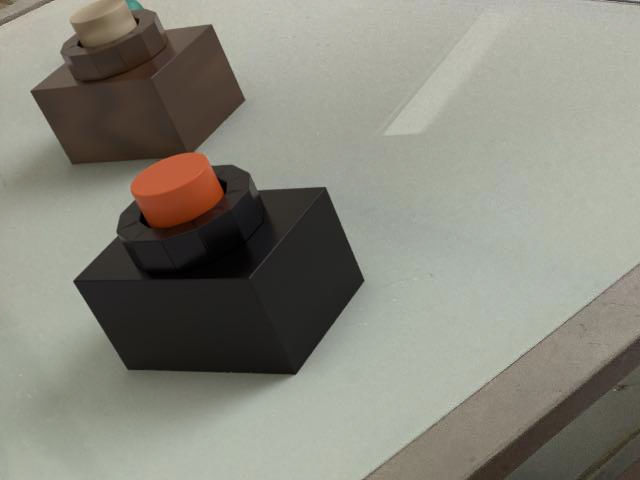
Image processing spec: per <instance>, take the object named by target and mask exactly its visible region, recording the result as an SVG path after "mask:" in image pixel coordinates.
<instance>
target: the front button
mask: <svg viewBox="0 0 640 480" xmlns="http://www.w3.org/2000/svg"><path fill="white" fill-rule="evenodd" d="M211 166H212V165H211V162H210V160H209V159H208V157H207V156H206V155H205V154H203V153H200V152H193V153H183V154H179V155H175V156H171V157H168V158H162V159H160V160H159V161H157V162H155V163H153V164H151V165H150V166H148V167H146V168H145V169H143V170H142V171H141V172H140V173H138V174H137V175H136V176H135V178H134V179H133V180H132V182H131V183H130V187H129V189H130V193H131V194H132V197H133V199H134V200H136V202H137V204H138V206H139V208H140V210H141V211H142V213H143V215H144V217H145V219H146V221H147V222H148V224H149V226H150V227H151V228H167V227H172V226H175V225H178V224H181V223H185V222H188V221H191V220H193V219H194V218H196V217H198V216H199V215H201V214H203V213H205V212H206V211H208V210H210V209H211V208H213V207H214V206H215V205H216V204H217V203H218V202H219V201H220V200H221V198H222V197H223V196H224V192H223V189H222V187H221V185H220V183H219V181H218V179H217V177H216V175H215V173H214V171H213V169H212V167H211Z"/></svg>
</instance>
